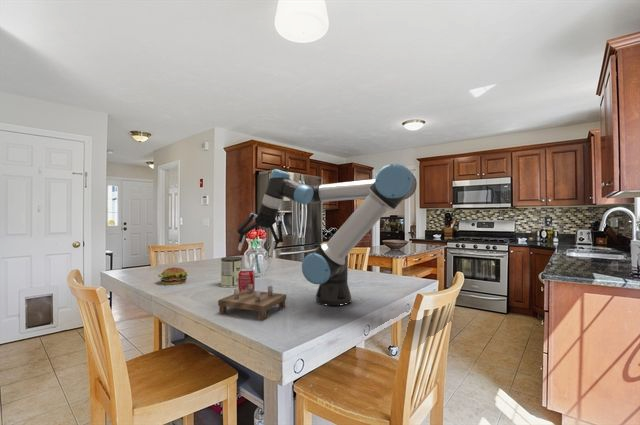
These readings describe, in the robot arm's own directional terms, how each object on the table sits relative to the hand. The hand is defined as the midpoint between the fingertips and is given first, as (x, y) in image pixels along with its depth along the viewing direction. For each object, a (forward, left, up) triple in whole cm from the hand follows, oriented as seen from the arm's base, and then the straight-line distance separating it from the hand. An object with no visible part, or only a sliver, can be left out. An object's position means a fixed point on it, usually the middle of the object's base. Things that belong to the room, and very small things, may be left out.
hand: (254, 252), depth 132 cm
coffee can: (+26, -20, -20) cm, 39 cm away
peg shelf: (-8, +12, -20) cm, 25 cm away
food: (+58, -13, -20) cm, 63 cm away
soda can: (+6, -4, -20) cm, 22 cm away
